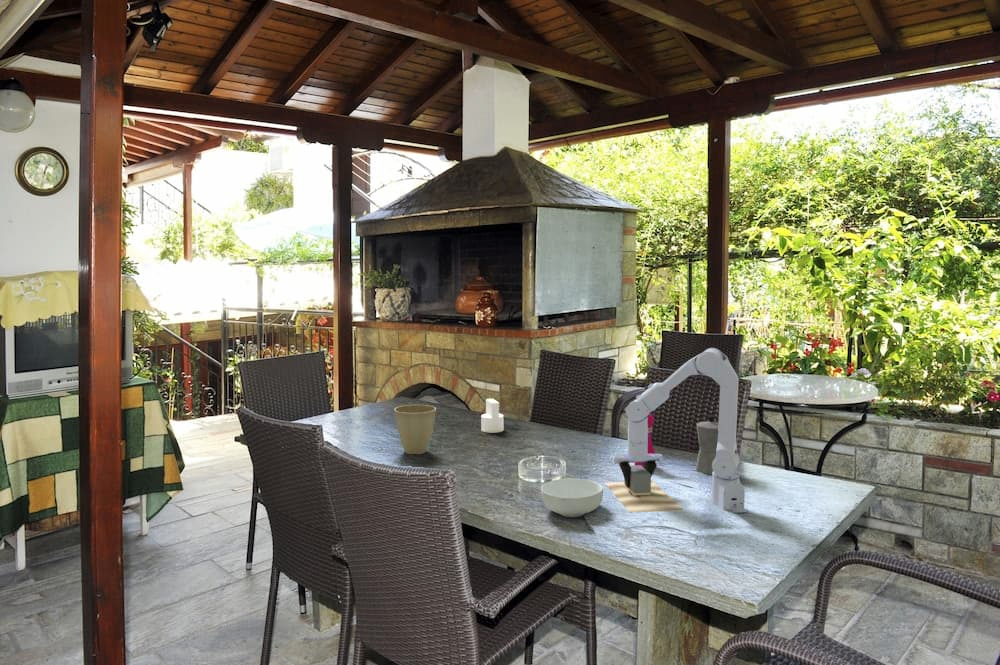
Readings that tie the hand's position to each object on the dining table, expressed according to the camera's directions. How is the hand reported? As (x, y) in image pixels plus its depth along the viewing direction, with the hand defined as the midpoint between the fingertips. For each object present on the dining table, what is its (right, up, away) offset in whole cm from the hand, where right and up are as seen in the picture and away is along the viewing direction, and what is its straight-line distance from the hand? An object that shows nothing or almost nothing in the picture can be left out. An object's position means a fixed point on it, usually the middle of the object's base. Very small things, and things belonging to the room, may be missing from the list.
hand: (637, 486), depth 208 cm
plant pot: (-70, +2, +49) cm, 86 cm away
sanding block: (0, -1, 0) cm, 1 cm away
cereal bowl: (-20, -4, -13) cm, 25 cm away
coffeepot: (+28, 0, +23) cm, 36 cm away
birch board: (+1, -3, -4) cm, 5 cm away
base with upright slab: (-43, +5, +81) cm, 92 cm away
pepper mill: (+8, 0, +28) cm, 29 cm away
